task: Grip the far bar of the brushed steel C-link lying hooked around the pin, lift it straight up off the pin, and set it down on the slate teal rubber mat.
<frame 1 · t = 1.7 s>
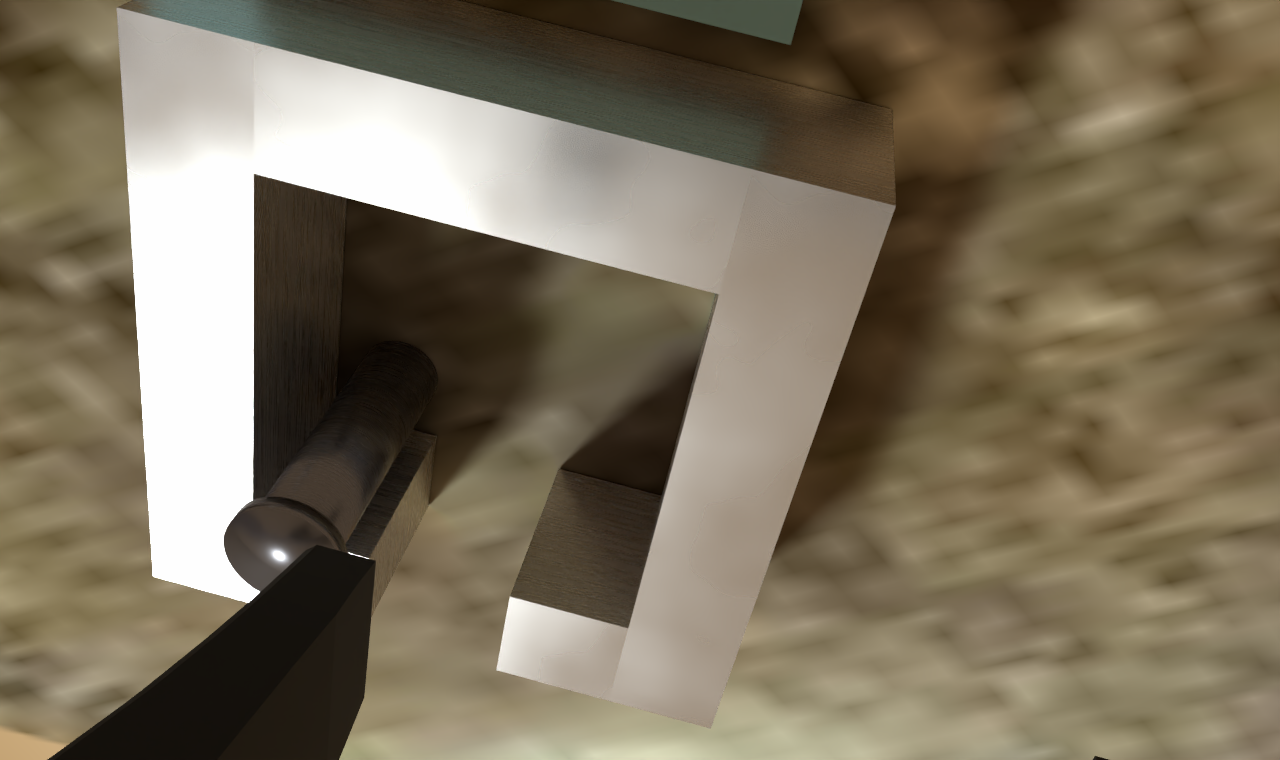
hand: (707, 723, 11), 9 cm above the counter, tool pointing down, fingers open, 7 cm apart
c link: (520, 309, 20), on the counter
pin: (400, 374, 21), on the counter
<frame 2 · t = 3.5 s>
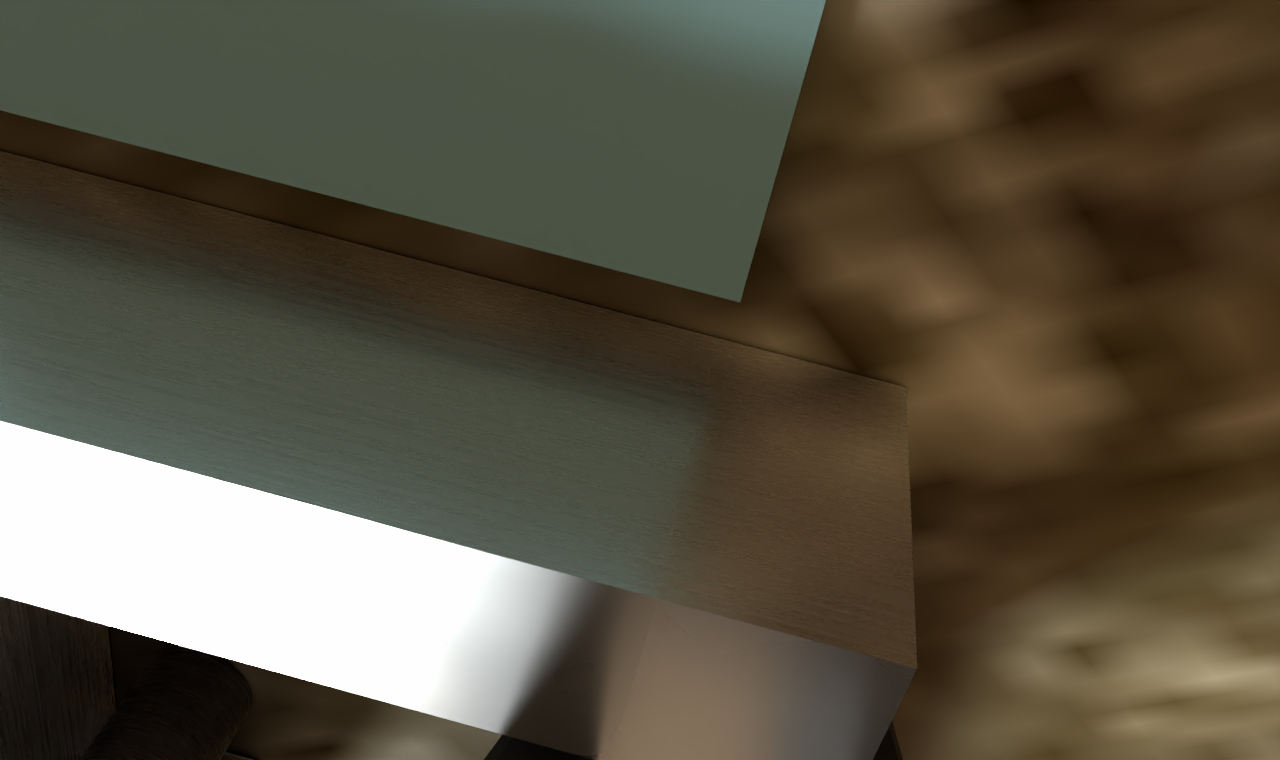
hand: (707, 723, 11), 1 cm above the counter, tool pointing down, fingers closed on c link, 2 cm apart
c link: (357, 619, 14), on the counter, touching gripper
pin: (200, 686, 15), on the counter
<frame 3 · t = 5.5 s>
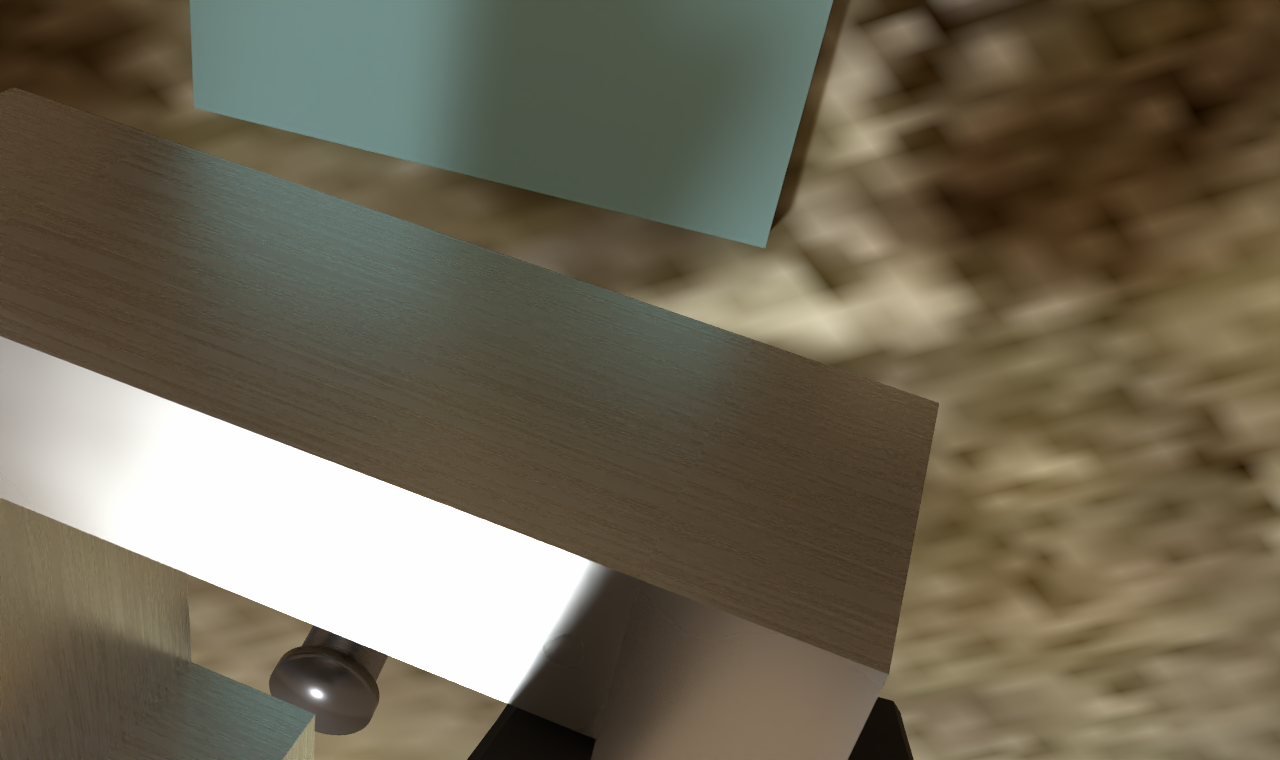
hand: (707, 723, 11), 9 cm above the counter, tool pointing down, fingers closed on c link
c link: (408, 587, 14), point 7 cm above the counter, tilted 8°, touching gripper
pin: (421, 506, 23), on the counter
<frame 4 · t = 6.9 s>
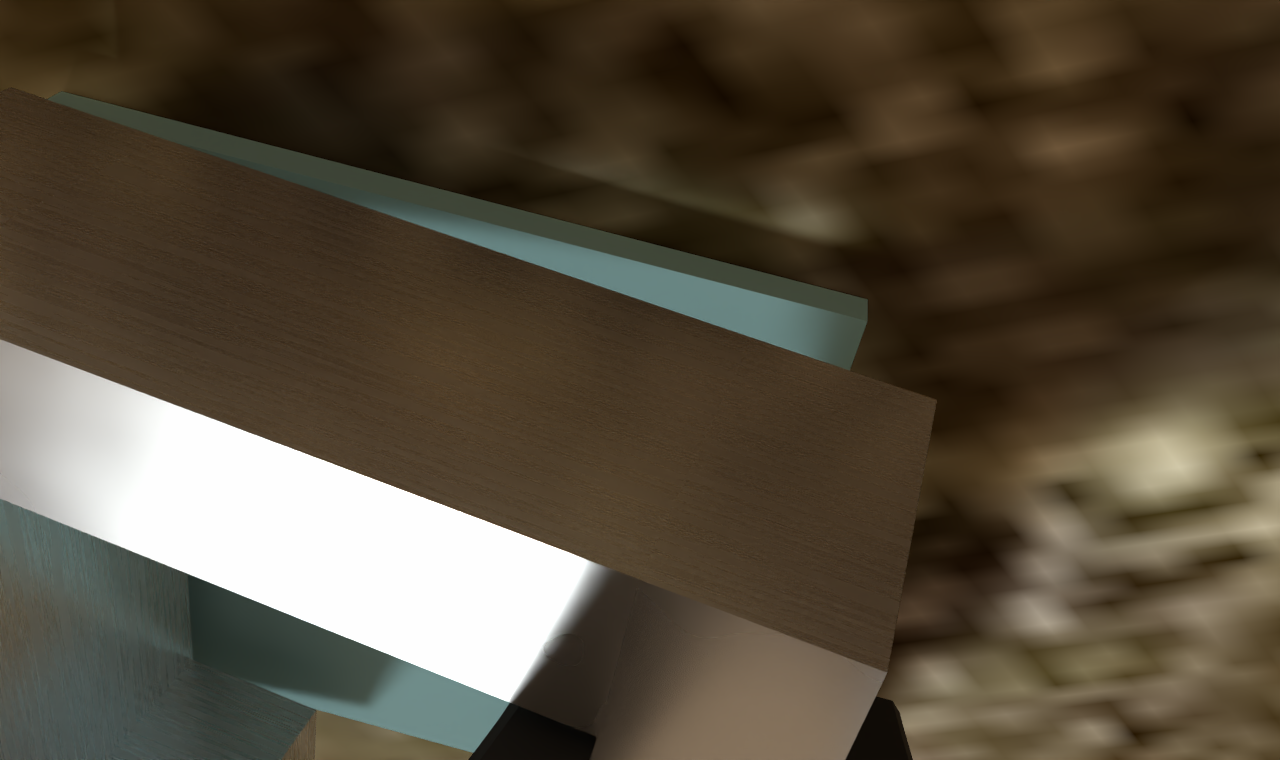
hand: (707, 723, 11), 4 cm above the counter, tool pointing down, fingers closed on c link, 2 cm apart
mat: (425, 490, 16), on the counter
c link: (408, 583, 14), point 2 cm above the counter, tilted 8°, touching gripper
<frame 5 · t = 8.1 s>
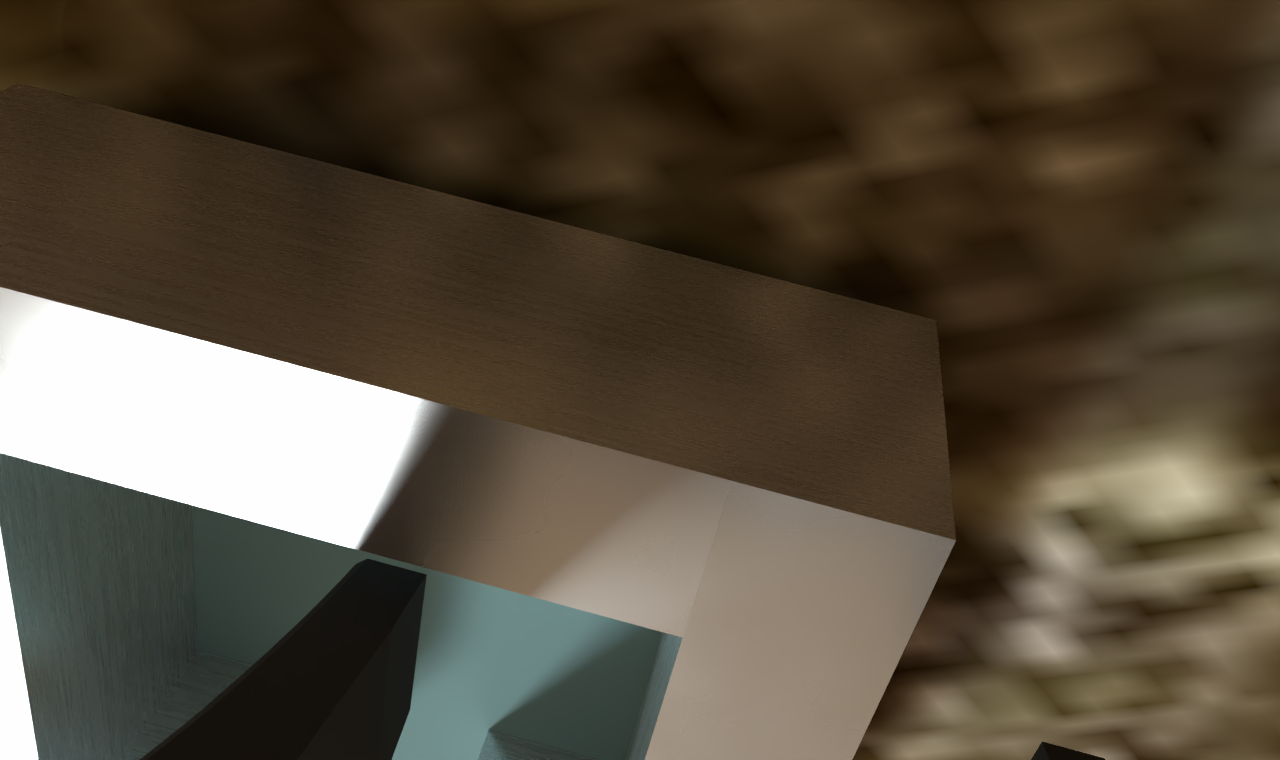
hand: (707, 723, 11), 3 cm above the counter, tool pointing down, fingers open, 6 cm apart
mat: (414, 513, 15), on the counter
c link: (428, 546, 15), resting on mat
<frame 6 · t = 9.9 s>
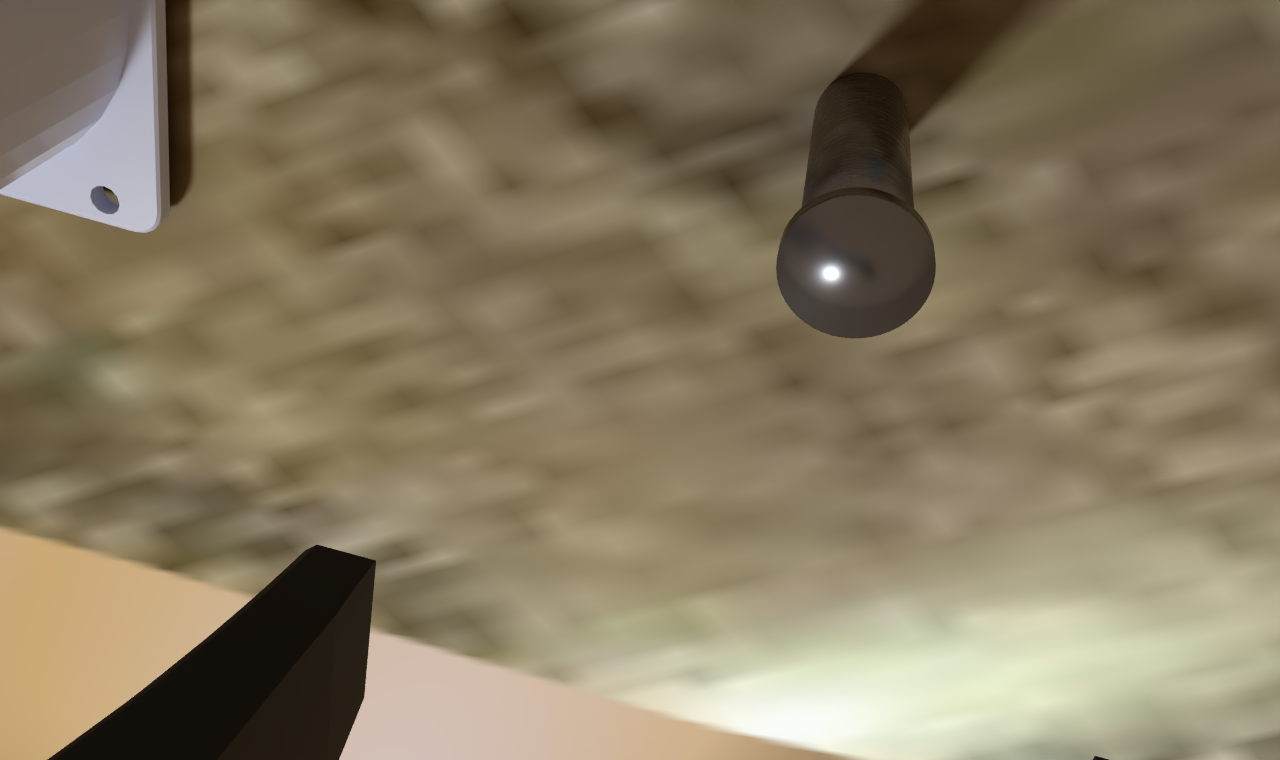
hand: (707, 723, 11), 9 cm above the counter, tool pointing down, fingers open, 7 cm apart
pin: (860, 118, 17), on the counter
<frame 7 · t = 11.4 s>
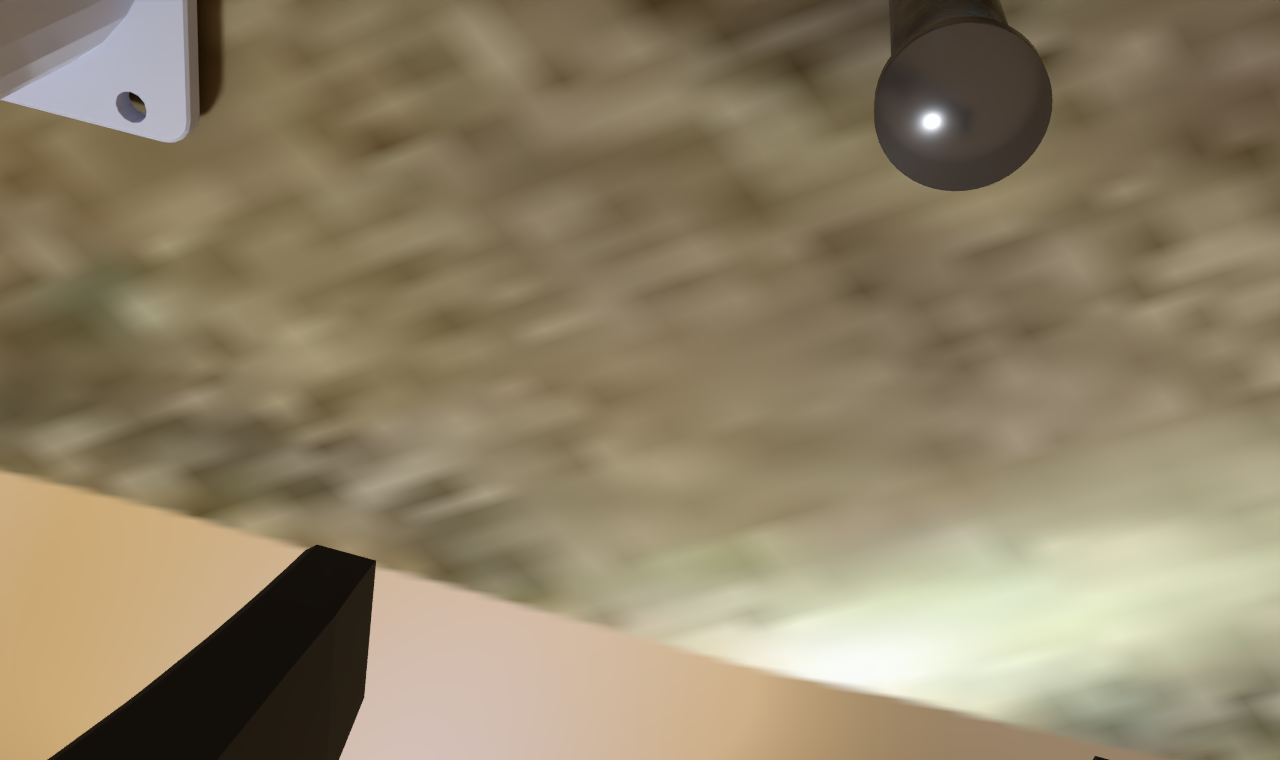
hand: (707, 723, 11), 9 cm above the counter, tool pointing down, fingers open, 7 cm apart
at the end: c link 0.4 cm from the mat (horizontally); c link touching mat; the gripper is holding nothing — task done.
